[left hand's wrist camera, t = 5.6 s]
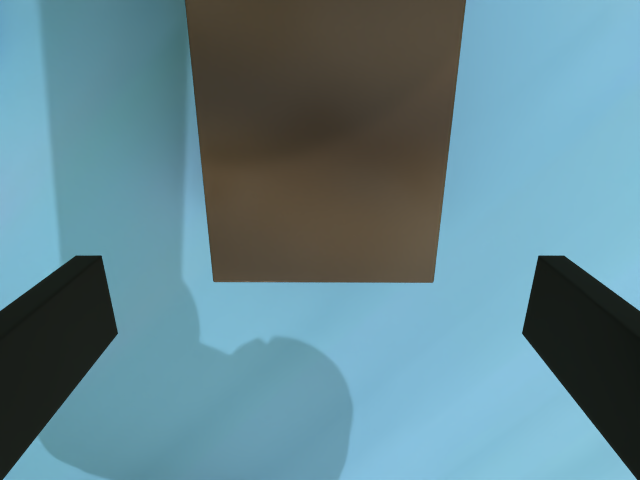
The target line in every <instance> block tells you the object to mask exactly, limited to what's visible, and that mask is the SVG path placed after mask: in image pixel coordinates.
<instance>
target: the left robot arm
mask: <svg viewBox="0 0 640 480" xmlns="http://www.w3.org/2000/svg"><path fill="white" fill-rule="evenodd" d="M117 334H118V332H117V327H116V322H115V317H114V313H113V308H112V303H111V298H110V294H109V289H108V284H107V279H106V275H105V270H104V265H103V261H102V256H75V257H73V258H72V259H71V260H69V261H68V262H67V263H65V264H64V265H63V266H61V267H60V268H58V269H57V270H56V271H54V272H53V273H52V274H50V275H49V276H48V277H46V278H45V279H43V280H42V281H41V282H39V283H38V284H37V285H35V286H34V287H33V288H31V289H30V290H28V291H27V292H26V293H24V294H23V295H22V296H20V297H19V298H17V299H16V300H15V301H13V302H12V303H11V304H9V305H8V306H7V307H5V308H4V309H2V310H1V311H0V480H3V479H4V477H5V476H6V475H7V474H8V472H9V471H10V470H11V469H12V467H13V466H14V465H15V463H16V462H17V461H18V460H19V458H20V457H21V456H22V455H23V453H24V452H25V451H26V450H27V448H28V447H29V446H30V444H31V443H32V442H33V441H34V439H35V438H36V437H37V436H38V434H39V433H40V432H41V430H42V429H43V428H44V427H45V425H46V424H47V423H48V422H49V420H50V419H51V418H52V417H53V415H54V414H55V413H56V411H57V410H58V409H59V408H60V406H61V405H62V404H63V403H64V401H65V400H66V399H67V397H68V396H69V395H70V394H71V392H72V391H73V390H74V389H75V387H76V386H77V385H78V384H79V382H80V381H81V380H82V378H83V377H84V376H85V375H86V373H87V372H88V371H89V370H90V368H91V367H92V366H93V364H94V363H95V362H96V361H97V359H98V358H99V357H100V356H101V354H102V353H103V352H104V350H105V349H106V348H107V347H108V345H109V344H110V343H111V342H112V340H113V339H114V338H115V337H116V335H117ZM522 334H523V335H524V337H525V338H526V339H527V340H528V342H529V343H530V344H531V345H532V347H533V348H534V349H535V350H536V352H537V353H538V354H539V356H540V357H541V358H542V359H543V361H544V362H545V363H546V364H547V366H548V367H549V368H550V370H551V371H552V372H553V373H554V375H555V376H556V377H557V378H558V380H559V381H560V382H561V384H562V385H563V386H564V387H565V389H566V390H567V391H568V392H569V394H570V395H571V396H572V397H573V399H574V400H575V401H576V403H577V404H578V405H579V406H580V408H581V409H582V410H583V411H584V413H585V414H586V415H587V417H588V418H589V419H590V420H591V422H592V423H593V424H594V425H595V427H596V428H597V429H598V430H599V432H600V433H601V434H602V436H603V437H604V438H605V439H606V441H607V442H608V443H609V444H610V446H611V447H612V448H613V450H614V451H615V452H616V453H617V455H618V456H619V457H620V458H621V460H622V461H623V462H624V463H625V465H626V466H627V467H628V469H629V470H630V471H631V472H632V474H633V475H634V476H635V477H636V479H637V480H640V311H639V310H638V309H636V308H635V307H633V306H632V305H631V304H629V303H628V302H627V301H625V300H624V299H623V298H621V297H620V296H618V295H617V294H616V293H614V292H613V291H612V290H610V289H609V288H607V287H606V286H605V285H603V284H602V283H601V282H599V281H598V280H597V279H595V278H594V277H592V276H591V275H590V274H588V273H587V272H586V271H584V270H583V269H582V268H580V267H579V266H577V265H576V264H575V263H573V262H572V261H571V260H569V259H568V258H567V257H565V256H538V261H537V265H536V270H535V275H534V279H533V284H532V289H531V294H530V298H529V303H528V308H527V313H526V317H525V322H524V327H523V332H522Z"/></svg>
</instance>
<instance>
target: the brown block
mask: <svg viewBox="0 0 640 480" xmlns="http://www.w3.org/2000/svg"><path fill="white" fill-rule="evenodd" d="M465 4H466V0H185V5H186V15H187V25H188V35H189V45H190V55H191V65H192V75H193V85H194V95H195V105H196V114H197V124H198V134H199V144H200V154H201V164H202V174H203V184H204V194H205V204H206V214H207V224H208V234H209V243H210V253H211V263H212V273H213V281H214V282H394V283H432V282H433V281H434V273H435V265H436V256H437V247H438V239H439V230H440V221H441V213H442V204H443V195H444V187H445V178H446V169H447V160H448V152H449V143H450V134H451V126H452V117H453V108H454V100H455V91H456V82H457V74H458V65H459V56H460V48H461V39H462V30H463V22H464V13H465Z"/></svg>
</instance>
